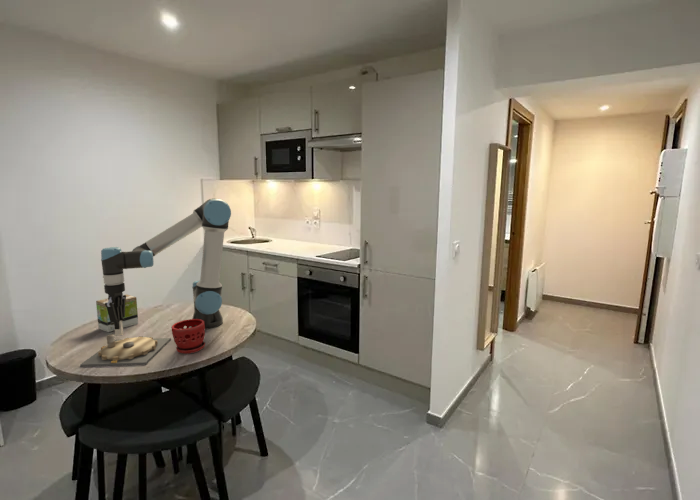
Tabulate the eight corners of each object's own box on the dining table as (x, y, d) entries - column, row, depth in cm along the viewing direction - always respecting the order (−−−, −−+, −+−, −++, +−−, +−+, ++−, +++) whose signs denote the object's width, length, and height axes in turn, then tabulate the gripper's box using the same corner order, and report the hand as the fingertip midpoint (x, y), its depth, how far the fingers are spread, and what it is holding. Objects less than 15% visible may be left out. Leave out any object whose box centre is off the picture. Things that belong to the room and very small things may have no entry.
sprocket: (165, 338, 174) (164, 325, 173) (143, 360, 153) (142, 344, 152) (116, 340, 173) (114, 326, 172) (86, 361, 151) (84, 346, 150)
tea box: (108, 333, 185) (105, 303, 183) (98, 329, 190) (94, 300, 188) (139, 323, 198) (136, 296, 195) (128, 320, 203) (126, 293, 201)
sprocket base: (170, 340, 176) (170, 336, 176) (146, 364, 152) (145, 360, 151) (114, 341, 174) (114, 338, 174) (80, 366, 150) (79, 363, 150)
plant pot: (200, 341, 175) (198, 316, 173) (210, 350, 165) (208, 324, 163) (170, 348, 167) (167, 322, 165) (178, 359, 157) (176, 331, 155)
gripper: (113, 279, 171) (118, 330, 175) (96, 287, 158) (102, 341, 162) (130, 279, 171) (135, 329, 175) (115, 286, 159) (120, 340, 162)
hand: (119, 335), depth 169 cm, fingers closed
